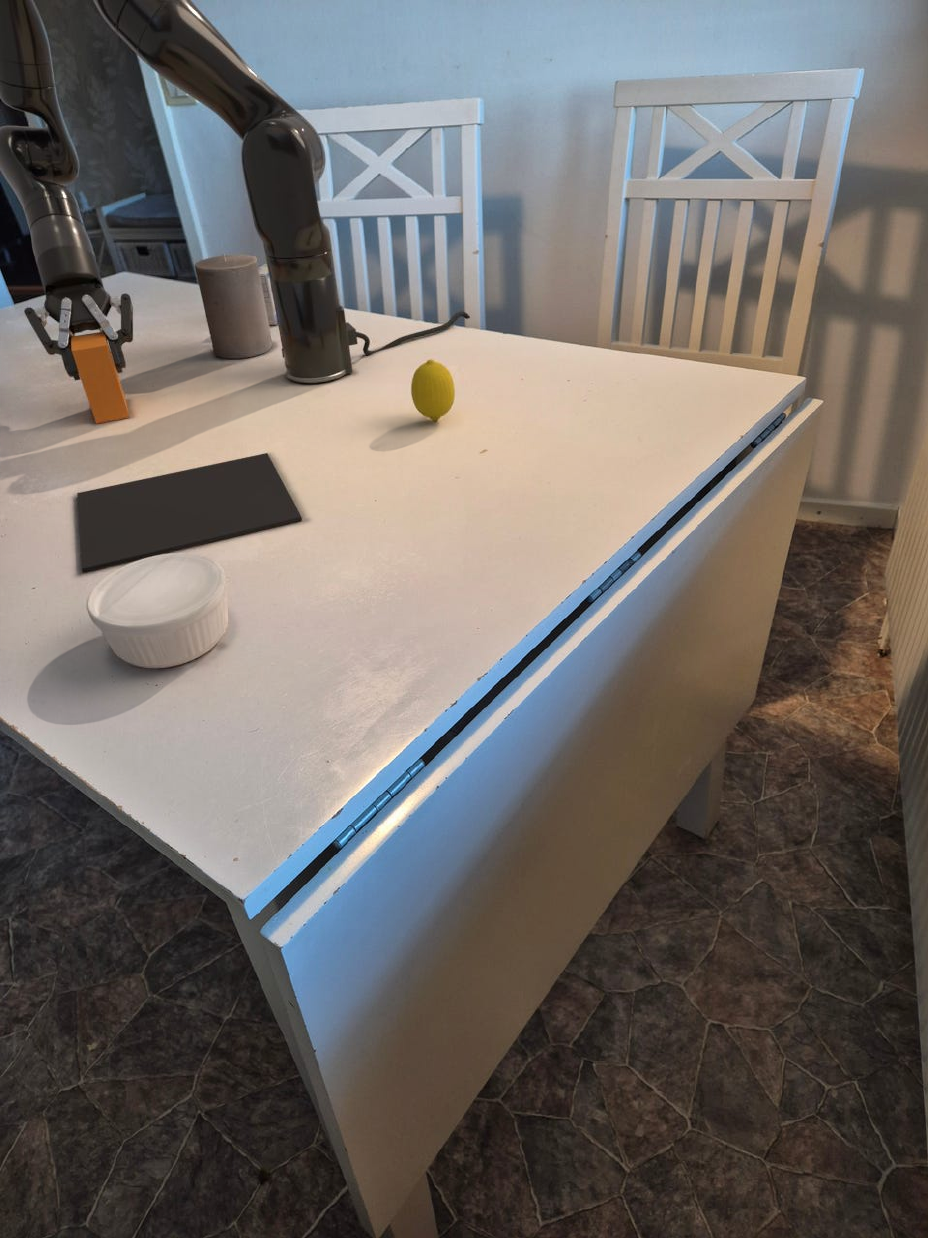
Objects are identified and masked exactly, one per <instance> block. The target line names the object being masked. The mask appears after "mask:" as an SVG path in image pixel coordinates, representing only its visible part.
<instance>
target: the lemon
mask: <svg viewBox="0 0 928 1238" xmlns="http://www.w3.org/2000/svg"><path fill="white" fill-rule="evenodd" d="M412 375H413V376H412V378H411V385H410V393H411V400H412V403H413V405H414V407H415V409H416V410H417V411H418V413H419V414H421V415H422V416H424V417H426V418H429V419H430V420H432V422H437V421H438V420H440V418H442V417H444V416H446V415H447V414H448V413H449V412H450V411H451V409H452V407H453V405H454V403H455V395H456V389H455V383H454V380H453V376H452V374H451V372H450V370H449V369H448V368H447V367H446V366H445V365H444V364H442V363H440V362H438V361H435V360H434V359H427V361H426V362H424V363H422V364H421V365H419V366H418V367H417V368H416V370H415V371H414V373H413V374H412Z"/></svg>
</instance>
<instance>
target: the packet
mask: <svg viewBox="0 0 928 1238" xmlns="http://www.w3.org/2000/svg"><path fill="white" fill-rule="evenodd" d="M71 350H72V354H73V357H74V360H75V363H76V366H77V369H78V372H79V375H80V379H81V380H80V381H81V383H82V387H83V389H84V393H85V395H86V398H87V401H88V404H89V407H90V410H91V412H92V416H93V419H94V421H95V424H97V425H98V424H103V423H108V422H114V421H118V420H124V419H128V418H130V414H129V409H128V405H127V400H126V396H125V394H124V390H123V387H122V384H121V383H122V382H121V381H120V377H119V373H117V370H116V367H115V364H114V361H113V357H112V354H111V350H110V347H109V343H108V340H107V339H106V336H105V333H102V332H100V331H97V332H92V333H85V334H79V335H75V336H73V338H71Z"/></svg>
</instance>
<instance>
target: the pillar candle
mask: <svg viewBox="0 0 928 1238" xmlns="http://www.w3.org/2000/svg"><path fill="white" fill-rule="evenodd" d="M258 263H259V262H258V258H257V256H254V255H248V254H225V251H222V255H218V256H212V257H208V258H204V259H201V260H199V261H197V262H195V264H194V269H195V273H196V278H197V282H198V287H199V292H200V296H201V300H202V305H203V310H204V314H205V319H206V323H207V328H208V334H209V336H210V341H211V347H212V351H213V354H214V355H215V356H216V357H218V358H222V359H230V360H231V359H234V360H235V359H245V358H246V359H247V358H251V357H256V356H260V355H263V354H265V353H268V351H269V350H270V349H271V348H272V347H273V338H272V332H271V328H270V325H269V322H268V316H267V311H266V306H265V300H264V295H263V290H262V285H261V279H260V274H259V268H258V267H259V264H258Z"/></svg>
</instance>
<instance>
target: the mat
mask: <svg viewBox="0 0 928 1238" xmlns="http://www.w3.org/2000/svg"><path fill="white" fill-rule="evenodd" d="M76 495H77V513H78V530H79V548H80V549H79V550H80V564H81V565H80V566H81V571H82V573H88V572H92V571H97V570H100V569H105V568H109V567H113V566H117V565H121V564H125V563H129V562H130V563H131V562H135V561H138V560H141V559H145V558H148V557H152V556H157V555H162V554H169V553H173V552H175V551H179V550H185V549H188V548H193V547H196V546H201V545H206V544H210V543H213V542H218V541H222V540H226V539H231V538H235V537H239V536H243V535H247V534H252V533H256V532H260V531H264V530H268V529H272V528H276V527H281V526H286V525H289V524H293V523H297V522H302V521H303V517H302V515H301V513H300V511H299V509H298V508H297V506H296V504H295V502H294V500H293V498H292V497H291V494H290V492H289V490H288V489H287V487H286V485H285V483H284V481H283V480H282V477H281V476H280V473H279V472H278V470H277V468H276V467H275V464H274V463H273V461H272V459H271V457H270V455H269V453H268V452H265V453H260V454H255V455H251V456H247V457H246V456H245V457H242V458H236V459H232V460H226V461H223V462H218V463H212V464H208V465H204V466H198V467H194V468H190V469H185V470H179V471H174V472H170V473H166V474H165V473H164V474H161V475H156V476H152V477H146V478H142V479H138V480H133V481H128V482H122V483H117V484H114V485H109V486H104V487H98V488H94V489H90V490H84V491H81V492H77V494H76Z"/></svg>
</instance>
